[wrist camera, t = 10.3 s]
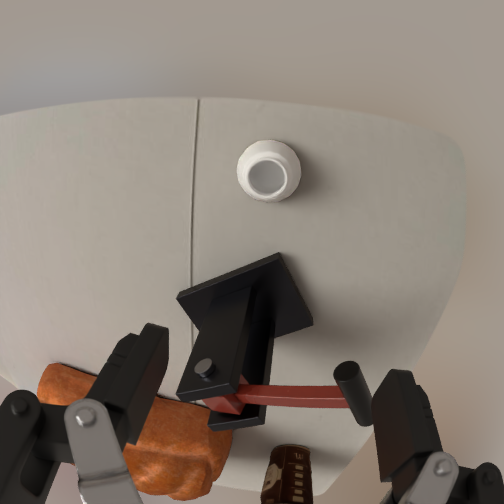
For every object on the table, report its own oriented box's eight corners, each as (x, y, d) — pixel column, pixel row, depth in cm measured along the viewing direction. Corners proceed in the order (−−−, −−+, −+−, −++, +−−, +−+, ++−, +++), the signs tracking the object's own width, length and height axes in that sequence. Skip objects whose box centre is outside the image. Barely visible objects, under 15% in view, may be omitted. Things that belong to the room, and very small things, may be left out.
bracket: (279, 251, 29) (267, 354, 17) (313, 317, 32) (315, 425, 20) (179, 291, 32) (129, 386, 21) (219, 347, 35) (190, 444, 23)
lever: (363, 352, 16) (354, 388, 14) (381, 401, 18) (374, 433, 16) (201, 357, 23) (184, 381, 21) (234, 397, 25) (221, 420, 23)
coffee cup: (264, 462, 47) (255, 527, 35) (260, 440, 43) (250, 514, 32) (315, 462, 45) (313, 528, 34) (318, 440, 42) (317, 515, 30)
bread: (44, 352, 41) (2, 409, 30) (237, 410, 40) (220, 494, 28) (68, 408, 49) (39, 458, 37) (228, 457, 47) (215, 522, 35)
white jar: (226, 175, 26) (275, 210, 27) (219, 184, 24) (273, 223, 24) (262, 127, 24) (313, 165, 25) (259, 130, 21) (315, 173, 22)
